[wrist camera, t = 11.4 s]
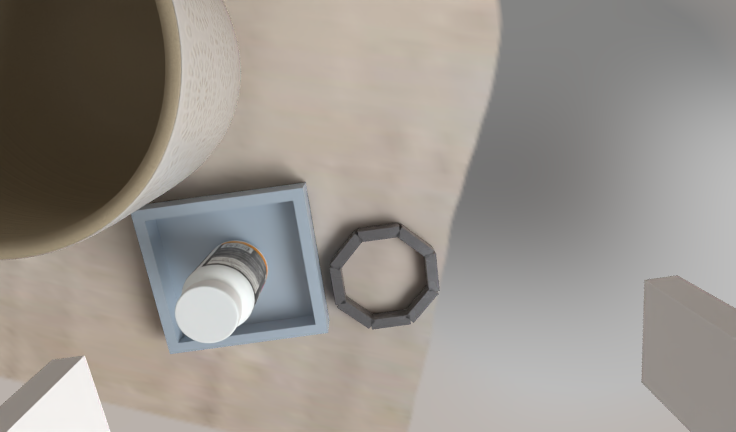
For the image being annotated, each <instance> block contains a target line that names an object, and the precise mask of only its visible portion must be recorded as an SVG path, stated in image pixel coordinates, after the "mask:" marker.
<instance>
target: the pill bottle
mask: <svg viewBox="0 0 736 432" xmlns="http://www.w3.org/2000/svg"><path fill="white" fill-rule="evenodd" d="M267 275H268V265H267V261H266V259H265V257H264V255H263V254H262V252H261V251H260V250H259V249H258V248H256V247H255V246H254V245H252V244H250V243H248V242H245V241H239V240H233V241H227V242H224V243H222V244H220V245H218V246H217V247H216V248H215V249H213V250H212V251H211V252H210V253H209V255H208V256H207V257H206V258H205V259H204V260H203V261H202V262H201V264H200V265H199V266H198V267H197V268H196V269H195V270H194V271H193V272H192V273H191V274H190V275H189V276H188V278H187V279H186V281H185V283H184V285H183V289H182V295H181V296H180V298H179V299H178V301H177V303H176V307H175V318H176V322H177V324H178V326H179V328H180V329H181V331H182V332H183V333H184V334H185V335H187V336H188V337H189V338H191V339H193V340H195V341H198V342H201V343H216V342H219V341H222V340H224V339H226V338H227V337H229V336H230V335H231V334H232V333H233V332H234V330H235V329H236V327H238V326H239V325H241V324H242V323H244V322H245V321H246V320H247V319H248V317H249V316H250V315H251V313H252V311H253V308H254V306H255V304H256V302H257V300H258V298H259V295H260V293H261V291H262V289H263V286H264V284H265V282H266V279H267Z"/></svg>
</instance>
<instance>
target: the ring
mask: <svg viewBox="0 0 736 432" xmlns="http://www.w3.org/2000/svg"><path fill="white" fill-rule="evenodd" d="M395 237H398V238H400V239H401V240H402V241H404V242H405V243H406V244H408V245H409V246H411V247H412V248H413V249H415V250H416V251H417V252H419V253H420V254H421V255H423V256H424V262H425V271H426V280H427V285H426V286H425V288H424V289H423V290H422V291H421V292H420V294H419V295H418V296H417V297H416V298H415V299H414V301H413V302H412V303H411V304H410V305H409V306H408V308H407V309H406V310H399V311H392V312H384V313H377V314H372V313H370V312H369V311H367V310H366V309H365V308H363V307H362V306H360V305H359V304H357V303H356V302H354V301H353V300H351V299H350V298H348V297H347V296H346V293H345V287H344V281H343V274H342V266H343V265H344V264H345V263H346V261H347V260H348V259H349V258H350V256H351V255H352V254H353V253H354V251H355V250H356V249H357V248H358V246H359V245H360V244H361V243H362V242H366V241H373V240H380V239H388V238H395ZM330 274H331V280H332V286H333V292H334V298H335V304H336V305H338V306H337V308H339V309H340V310H342V311H343V312H345V313H346V314H348V315H349V316H351V317H352V318H354V319H355V320H357V321H358V322H360V323H361V324H363V325H364V326H366V327H367V328H370V327H371V326H372V329H379V328H386V327H394V326H401V325H409V324H411V322H410V320H411V321H412V322H413V323H414V322H415V321H416V319H417V318H418V317H419V316H420V315H421V314H422V312H423V311H424V310H425V309H426V308H427V307H428V305H429V304H430V303H431V302H432V301H433V300H434V299H435V297H436V296H437V295H438V291H440V290H439V280H438V270H437V260H436V253H435V251H434V249H433V247H432V246H431V245H429V244H428V243H427V242H425V241H424V240H423V239H421V238H420V237H419V236H417V235H416V234H414V233H413V232H412V231H410V230H409V229H408V228H406V227H405V226H404V225H402V224H400V226H399V225H398V223H393V224H385V225H378V226H371V227H363V228H358V232H357V231H356V230H354V232H353V233H352V234H351V235H350V237H349V238H348V239H347V241H346V242H345V243H344V244H343V246H342V247H341V248H340V249H339V251H338V252H337V253H336V255H335V256H334V257H333V258H332V260H331V263H330Z"/></svg>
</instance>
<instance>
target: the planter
mask: <svg viewBox="0 0 736 432" xmlns="http://www.w3.org/2000/svg"><path fill="white" fill-rule="evenodd" d="M240 82H241V62H240V53H239V47H238V42H237V37H236V33H235V30H234V27H233V24H232V21H231V18H230V15H229V13H228V11H227V8H226V6H225V4H224V2H223V0H0V260H10V259H21V258H28V257H34V256H39V255H44V254H48V253H52V252H55V251H58V250H61V249H64V248H67V247H70V246H72V245H75V244H77V243H79V242H81V241H83V240H86V239H88V238H90V237H92V236H94V235H96V234H97V233H99V232H101V231H103V230H105V229H107V228H108V227H110V226H112V225H114V224H115V223H117V222H119V221H120V220H122V219H124V218H125V217H127V216H128V215H130V214H132V213H133V212H135V211H136V210H138V209H140V208H141V207H143V206H144V205H146V204H147V203H149V202H151V201H152V200H154V199H156V198H157V197H159V196H161V195H162V194H164V193H165V192H167V191H168V190H170V189H171V188H173V187H174V186H176V185H177V184H178V183H180V182H181V181H183V180H184V179H185V178H186V177H188V176H189V175H190V174H192V173H193V172H194V171H195V170H196V169H197V168H199V167H200V166H201V165H202V164H203V163H204V161H205V160H206V159H207V158H208V157H209V156H210V155H211V153H212V152H213V151H214V150H215V148H216V147H217V146H218V144H219V143H220V142H221V140H222V138H223V137H224V135H225V133H226V132H227V130H228V127H229V125H230V123H231V121H232V118H233V115H234V113H235V109H236V106H237V102H238V97H239V91H240Z"/></svg>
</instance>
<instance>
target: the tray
mask: <svg viewBox="0 0 736 432" xmlns="http://www.w3.org/2000/svg"><path fill="white" fill-rule="evenodd" d="M131 216H132V220H133V224H134V227H135V231H136V234H137V238H138V241H139V245H140V248H141V252H142V256H143V259H144V263H145V266H146V270H147V273H148V277H149V281H150V284H151V288H152V291H153V295H154V298H155V302H156V305H157V309H158V313H159V316H160V320H161V323H162V327H163V330H164V334H165V338H166V341H167V345H168V348H169V352H170V354H174V353H181V352H189V351H196V350H204V349H211V348H218V347H226V346H233V345H241V344H248V343H256V342H263V341H270V340H278V339H285V338H293V337H300V336H307V335H315V334H322V333H328V328H329V315H328V309H327V304H326V298H325V292H324V286H323V280H322V274H321V269H320V263H319V257H318V251H317V245H316V240H315V234H314V228H313V222H312V216H311V211H310V205H309V199H308V193H307V187H306V182H304V183H297V184H290V185H282V186H275V187H268V188H260V189H253V190H246V191H239V192H231V193H224V194H217V195H209V196H202V197H195V198H188V199H180V200H173V201H166V202H158V203H151V204H146V205H144V206H143V207H141V208H140V209H138V210H136V211H135V212H133V213H132V214H131ZM233 240H239V241H245V242H248V243H250V244H252V245H254V246H255V247H256V248H258V249H259V250H260V251H261V252H262V254H263V255H264V257H265V259H266V261H267V265H268V275H267V279H266V282H265V284H264V286H263V289H262V291H261V293H260V295H259V298H258V300H257V302H256V304H255V306H254V308H253V311H252V313H251V315H250V316H249V317H248V319H247V320H246V321H245V322H244V323H242V324H241V325H239V326H238V327H236V329H235V330H234V332H233V333H232V334H231V335H230V336H229V337H227V338H226V339H224V340H222V341H219V342H216V343H201V342H198V341H195V340H193V339H191V338H189V337H188V336H187V335H185V334H184V333H183V332H182V331H181V329H180V328H179V326H178V324H177V322H176V318H175V307H176V303H177V301H178V299H179V298H180V296H181V295H182V289H183V285H184V283H185V281H186V279H187V278H188V276H189V275H190V274H191V273H192V272H193V271H194V270H195V269H196V268H197V267H198V266H199V265H200V264H201V262H202V261H203V260H204V259H205V258H206V257H207V256H208V255H209V253H210V252H211V251H212V250H213V249H215V248H216V247H217V246H218V245H220V244H222V243H224V242H227V241H233Z"/></svg>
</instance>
